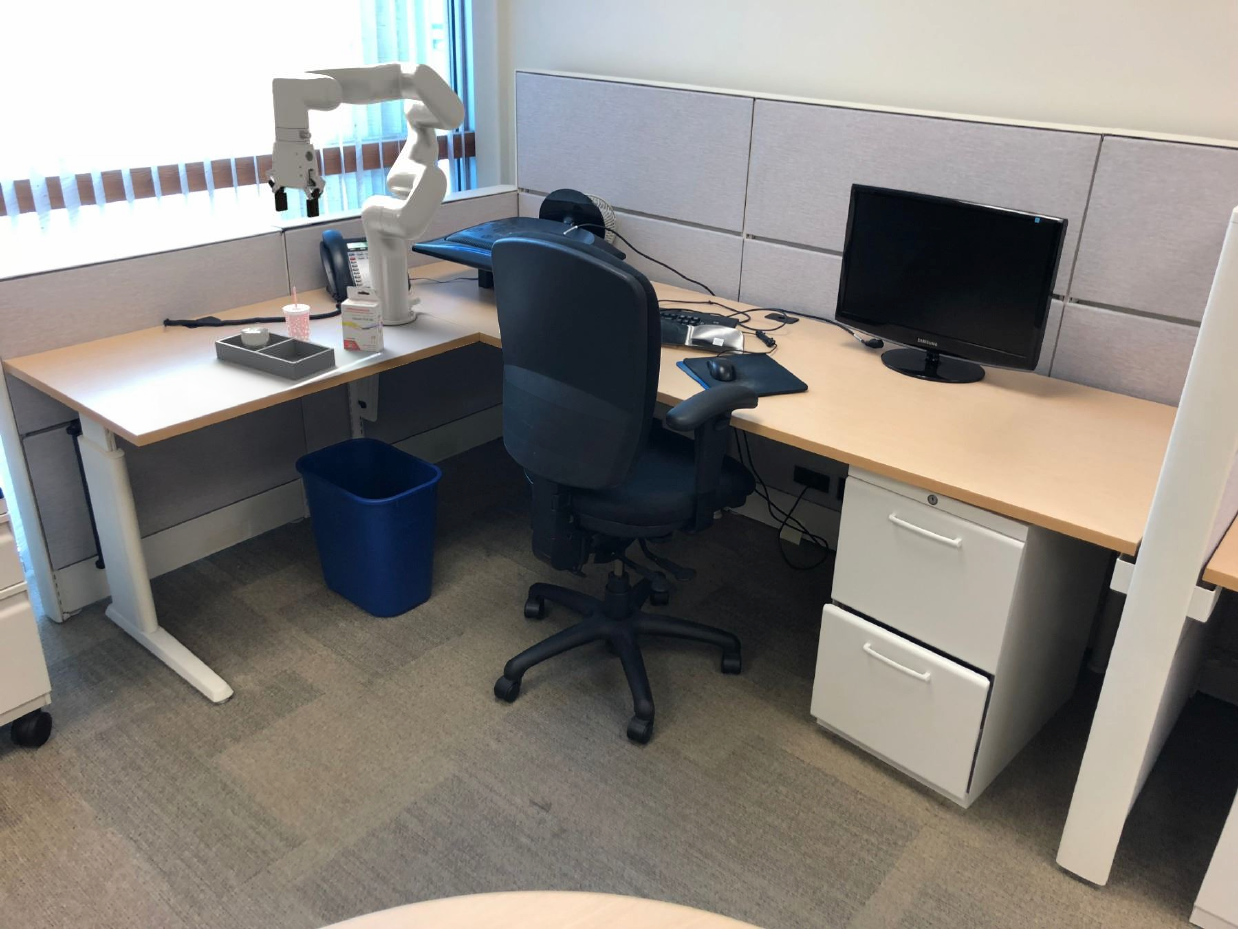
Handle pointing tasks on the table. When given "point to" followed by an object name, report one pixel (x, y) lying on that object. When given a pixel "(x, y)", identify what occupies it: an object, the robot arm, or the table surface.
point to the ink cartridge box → (362, 320)
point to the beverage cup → (297, 320)
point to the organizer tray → (278, 356)
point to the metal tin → (255, 338)
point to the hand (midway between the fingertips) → (297, 213)
